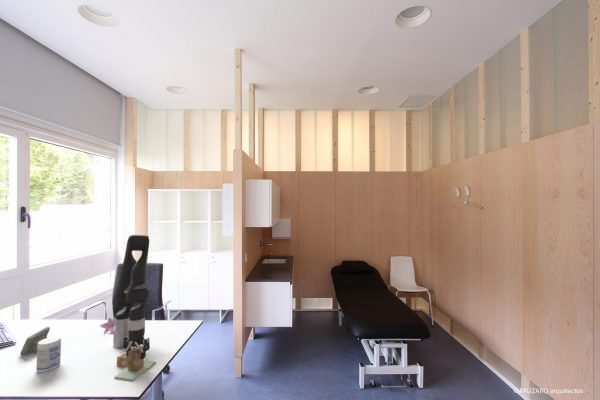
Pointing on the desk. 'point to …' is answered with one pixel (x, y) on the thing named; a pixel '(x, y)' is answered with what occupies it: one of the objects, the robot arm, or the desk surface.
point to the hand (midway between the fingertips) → (136, 357)
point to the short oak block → (122, 360)
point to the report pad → (134, 375)
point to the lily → (109, 326)
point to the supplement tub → (48, 354)
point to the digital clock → (34, 341)
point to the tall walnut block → (135, 360)
